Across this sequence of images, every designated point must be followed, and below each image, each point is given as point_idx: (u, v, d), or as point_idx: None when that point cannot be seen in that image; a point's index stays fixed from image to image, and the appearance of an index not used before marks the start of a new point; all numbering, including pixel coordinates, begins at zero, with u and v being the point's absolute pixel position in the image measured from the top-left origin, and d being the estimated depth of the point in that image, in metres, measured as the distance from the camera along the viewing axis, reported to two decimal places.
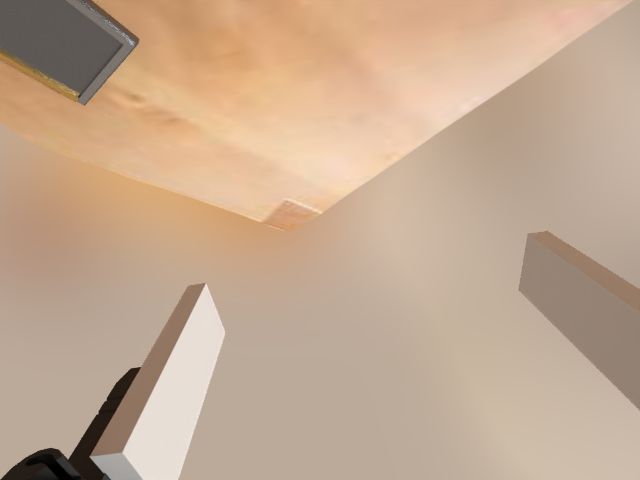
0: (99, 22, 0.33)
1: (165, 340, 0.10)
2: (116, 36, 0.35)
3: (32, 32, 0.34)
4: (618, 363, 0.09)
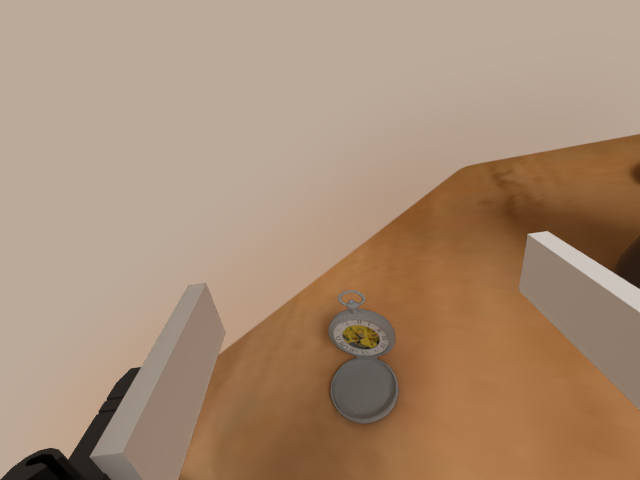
0: None
1: (165, 340, 0.10)
2: None
3: None
4: (619, 363, 0.09)
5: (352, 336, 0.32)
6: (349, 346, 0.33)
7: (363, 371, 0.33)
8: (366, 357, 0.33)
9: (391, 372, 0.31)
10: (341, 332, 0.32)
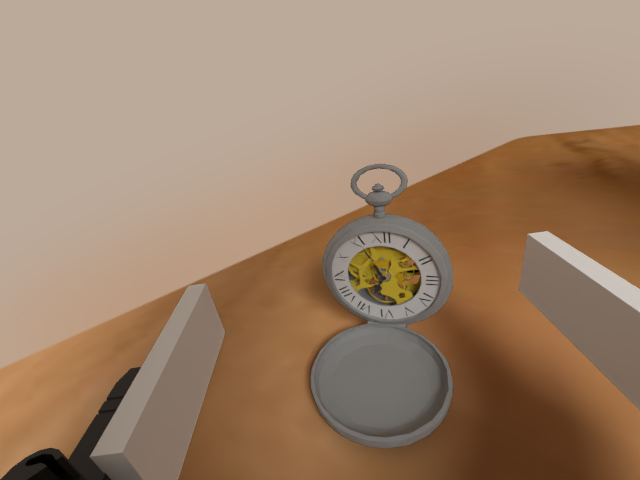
0: None
1: (165, 340, 0.10)
2: None
3: None
4: (618, 363, 0.09)
5: (366, 277, 0.17)
6: (358, 297, 0.17)
7: (378, 348, 0.17)
8: (387, 323, 0.18)
9: (435, 353, 0.16)
10: (347, 263, 0.17)
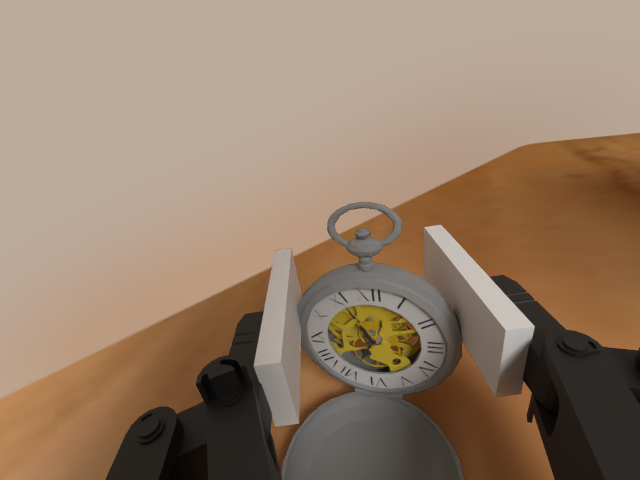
0: None
1: (276, 289, 0.12)
2: None
3: None
4: (468, 332, 0.11)
5: (351, 337, 0.14)
6: (341, 361, 0.14)
7: (368, 425, 0.14)
8: (378, 393, 0.14)
9: (441, 439, 0.12)
10: (326, 323, 0.13)
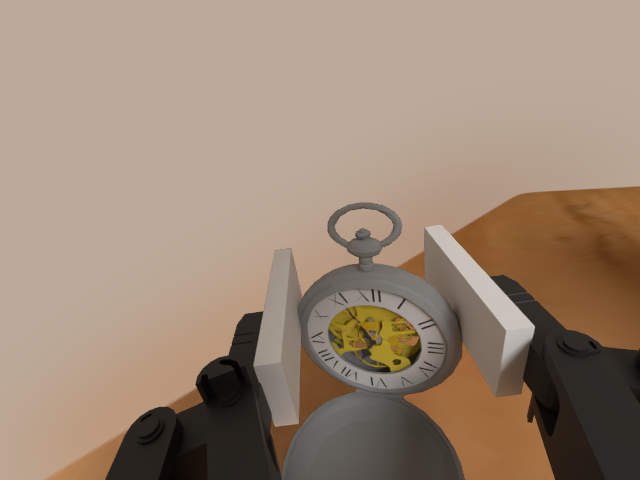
0: None
1: (275, 289, 0.12)
2: None
3: None
4: (469, 332, 0.11)
5: (351, 338, 0.14)
6: (342, 362, 0.14)
7: (368, 425, 0.14)
8: (378, 393, 0.14)
9: (442, 440, 0.12)
10: (326, 323, 0.13)
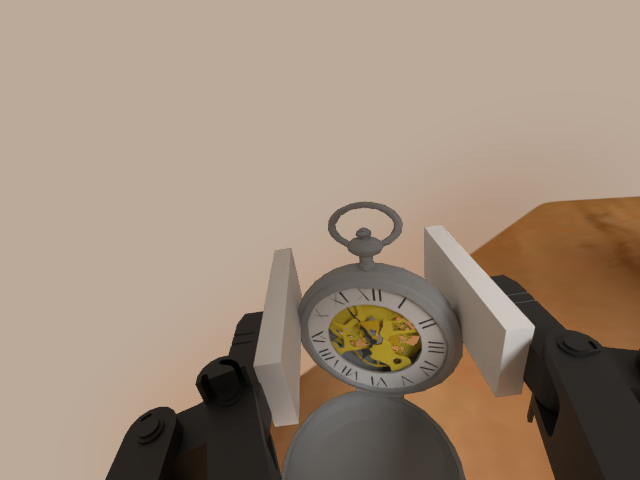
0: None
1: (275, 289, 0.12)
2: None
3: None
4: (469, 332, 0.11)
5: (352, 337, 0.14)
6: (342, 361, 0.14)
7: (369, 425, 0.14)
8: (379, 392, 0.14)
9: (442, 439, 0.12)
10: (327, 323, 0.13)
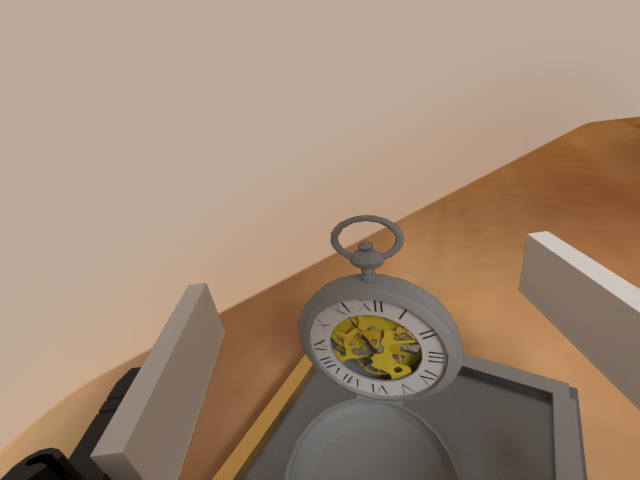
0: None
1: (165, 340, 0.10)
2: None
3: None
4: (618, 363, 0.09)
5: (353, 346, 0.14)
6: (343, 369, 0.14)
7: (369, 431, 0.14)
8: (379, 400, 0.14)
9: (442, 447, 0.13)
10: (329, 332, 0.13)
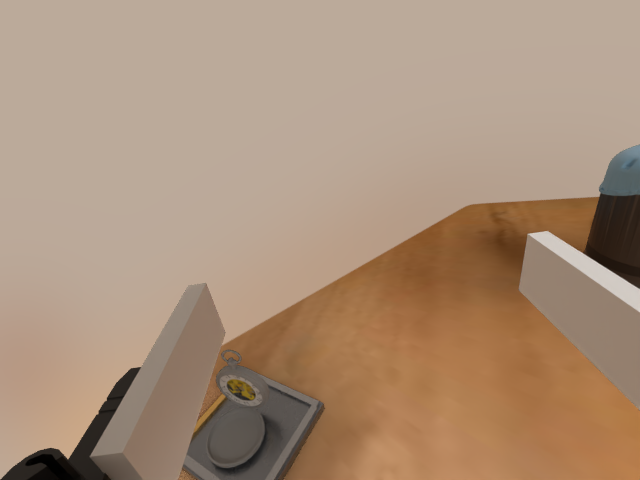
0: (271, 475, 0.32)
1: (165, 340, 0.10)
2: None
3: None
4: (618, 363, 0.09)
5: (236, 387, 0.38)
6: (233, 396, 0.38)
7: (243, 419, 0.38)
8: (247, 407, 0.38)
9: None
10: (225, 383, 0.37)
